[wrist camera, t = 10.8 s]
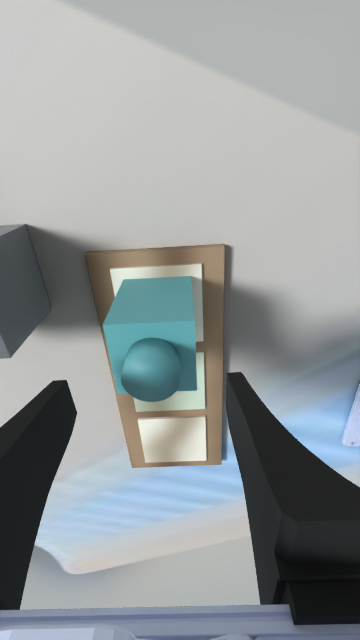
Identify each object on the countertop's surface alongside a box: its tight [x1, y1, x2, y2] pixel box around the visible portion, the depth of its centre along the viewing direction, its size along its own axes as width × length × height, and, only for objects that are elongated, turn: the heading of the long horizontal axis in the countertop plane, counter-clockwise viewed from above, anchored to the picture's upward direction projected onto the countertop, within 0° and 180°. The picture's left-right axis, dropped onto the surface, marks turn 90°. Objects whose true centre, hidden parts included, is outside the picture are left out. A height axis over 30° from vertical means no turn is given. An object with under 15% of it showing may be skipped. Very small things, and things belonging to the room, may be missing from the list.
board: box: [85, 244, 225, 468], centre depth 24 cm, size 9×22×1 cm, turn 3°
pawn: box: [103, 276, 197, 402], centre depth 17 cm, size 4×4×8 cm
